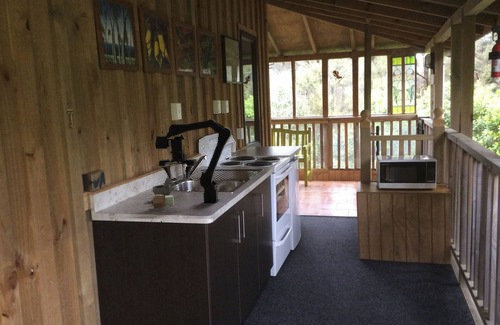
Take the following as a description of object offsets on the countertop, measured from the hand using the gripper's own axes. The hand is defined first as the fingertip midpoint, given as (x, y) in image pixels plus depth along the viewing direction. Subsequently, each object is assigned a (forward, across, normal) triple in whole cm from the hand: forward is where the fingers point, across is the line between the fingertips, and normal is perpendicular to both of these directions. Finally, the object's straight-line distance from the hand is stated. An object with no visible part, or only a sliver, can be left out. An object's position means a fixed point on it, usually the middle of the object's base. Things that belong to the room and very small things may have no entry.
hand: (178, 179), depth 229 cm
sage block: (+12, +5, +4) cm, 14 cm away
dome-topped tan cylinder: (+12, +10, +4) cm, 16 cm away
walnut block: (+11, +6, +12) cm, 18 cm away
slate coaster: (+12, +6, +12) cm, 18 cm away
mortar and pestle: (+12, +12, -7) cm, 18 cm away
